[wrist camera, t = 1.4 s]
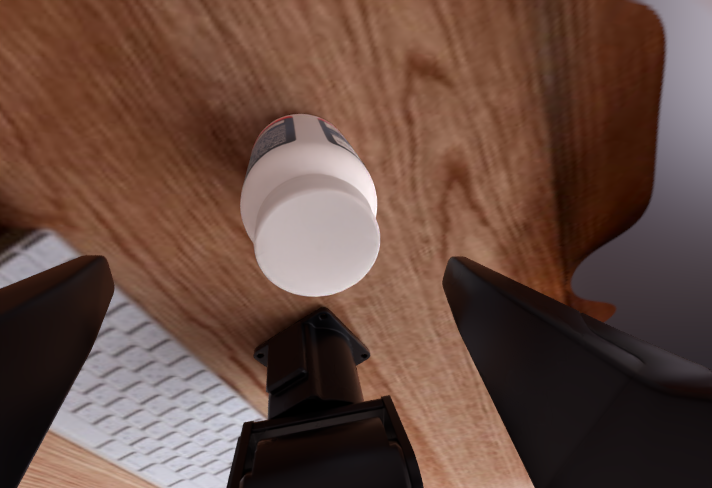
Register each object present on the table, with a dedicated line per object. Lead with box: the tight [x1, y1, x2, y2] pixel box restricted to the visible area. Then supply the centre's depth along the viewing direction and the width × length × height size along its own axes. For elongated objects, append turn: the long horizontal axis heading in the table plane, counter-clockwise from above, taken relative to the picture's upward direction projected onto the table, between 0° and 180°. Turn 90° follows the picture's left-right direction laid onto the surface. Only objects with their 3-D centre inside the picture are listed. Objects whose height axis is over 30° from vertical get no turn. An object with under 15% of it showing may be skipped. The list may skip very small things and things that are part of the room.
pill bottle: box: [240, 114, 380, 297], centre depth 14 cm, size 5×5×9 cm
